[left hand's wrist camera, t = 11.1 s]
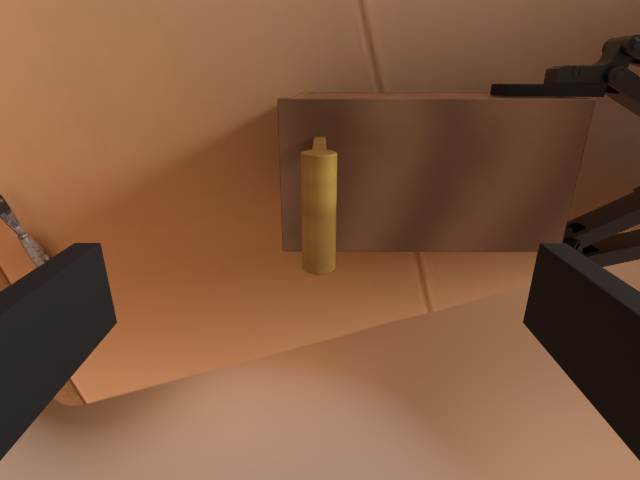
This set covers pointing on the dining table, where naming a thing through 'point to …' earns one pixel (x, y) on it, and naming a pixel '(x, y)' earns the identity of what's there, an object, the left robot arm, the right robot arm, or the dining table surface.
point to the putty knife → (23, 235)
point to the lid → (427, 174)
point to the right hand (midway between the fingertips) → (487, 162)
